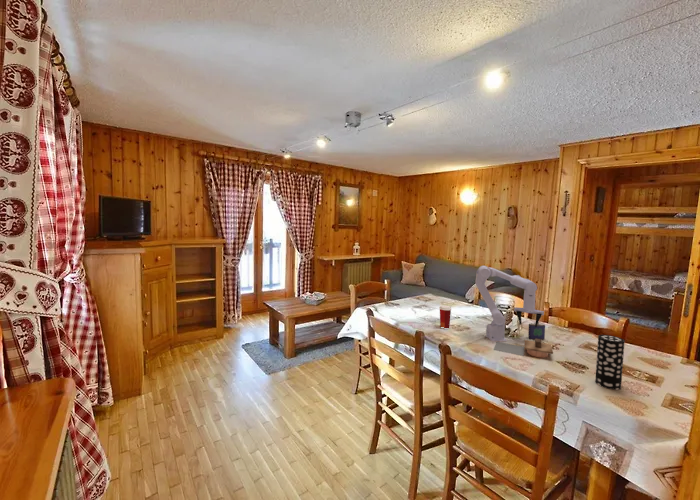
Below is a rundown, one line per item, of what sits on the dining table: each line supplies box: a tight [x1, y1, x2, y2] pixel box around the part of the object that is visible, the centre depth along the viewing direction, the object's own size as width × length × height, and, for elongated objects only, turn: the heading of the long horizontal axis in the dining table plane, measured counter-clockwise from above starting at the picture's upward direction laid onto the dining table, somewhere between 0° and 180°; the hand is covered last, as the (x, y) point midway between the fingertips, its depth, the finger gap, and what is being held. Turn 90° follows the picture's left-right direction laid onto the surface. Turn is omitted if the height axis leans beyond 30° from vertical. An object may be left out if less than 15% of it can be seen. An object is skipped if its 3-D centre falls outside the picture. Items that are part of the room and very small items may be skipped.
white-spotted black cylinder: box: [594, 334, 625, 391], centre depth 127 cm, size 8×8×20 cm
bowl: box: [526, 349, 549, 359], centre depth 157 cm, size 9×9×4 cm
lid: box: [523, 338, 554, 355], centre depth 157 cm, size 12×12×4 cm
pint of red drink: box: [438, 304, 452, 329], centre depth 198 cm, size 8×8×14 cm
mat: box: [493, 341, 526, 357], centre depth 164 cm, size 14×14×1 cm
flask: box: [527, 321, 546, 341], centre depth 179 cm, size 9×3×11 cm, turn 87°
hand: (528, 325), depth 173 cm, fingers open, 7 cm apart
